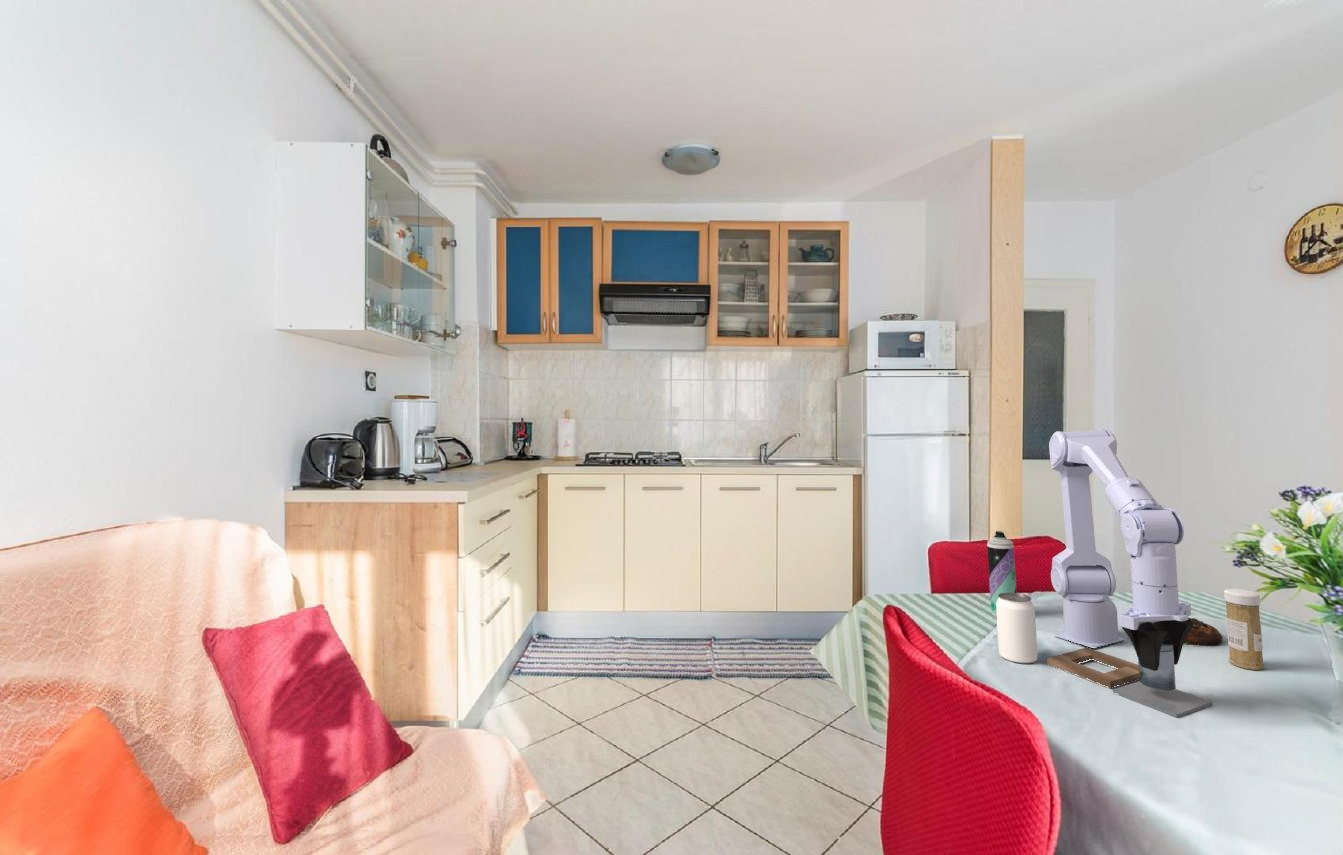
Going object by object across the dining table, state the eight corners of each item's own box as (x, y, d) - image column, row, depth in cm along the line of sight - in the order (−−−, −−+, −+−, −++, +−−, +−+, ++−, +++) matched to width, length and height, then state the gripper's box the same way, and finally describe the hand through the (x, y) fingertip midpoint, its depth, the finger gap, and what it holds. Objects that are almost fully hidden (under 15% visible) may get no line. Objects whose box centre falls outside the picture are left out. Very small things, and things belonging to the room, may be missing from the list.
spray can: (987, 611, 134) (982, 529, 135) (1011, 611, 134) (1006, 529, 134) (997, 619, 129) (992, 534, 129) (1022, 618, 128) (1017, 533, 128)
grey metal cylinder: (1151, 675, 93) (1148, 634, 93) (1182, 687, 89) (1180, 644, 89) (1132, 680, 92) (1130, 639, 92) (1163, 692, 88) (1160, 648, 88)
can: (1043, 665, 104) (1040, 601, 104) (1006, 663, 106) (1002, 601, 106) (1029, 651, 111) (1025, 591, 111) (993, 650, 112) (990, 591, 112)
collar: (1087, 653, 108) (1086, 647, 108) (1151, 675, 98) (1151, 669, 98) (1047, 664, 105) (1047, 657, 105) (1110, 688, 94) (1109, 681, 94)
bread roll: (1208, 651, 106) (1202, 624, 107) (1141, 640, 116) (1136, 615, 117) (1236, 641, 111) (1231, 615, 112) (1169, 632, 121) (1165, 608, 122)
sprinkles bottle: (1271, 671, 97) (1267, 595, 97) (1240, 670, 98) (1236, 595, 98) (1251, 660, 102) (1246, 588, 102) (1221, 659, 103) (1217, 587, 103)
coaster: (1147, 681, 96) (1147, 678, 96) (1212, 704, 87) (1212, 701, 87) (1112, 692, 93) (1112, 689, 93) (1176, 717, 84) (1176, 714, 84)
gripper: (1153, 595, 84) (1159, 684, 84) (1211, 581, 89) (1216, 665, 89) (1104, 584, 91) (1109, 666, 91) (1160, 572, 96) (1165, 650, 96)
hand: (1159, 665), depth 90 cm, fingers closed on grey metal cylinder, 4 cm apart
